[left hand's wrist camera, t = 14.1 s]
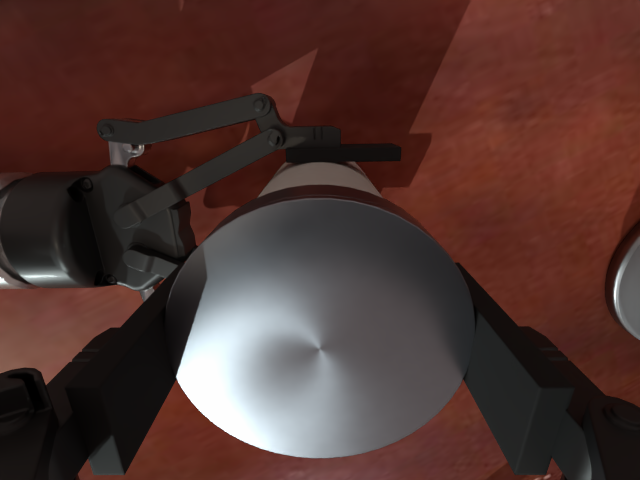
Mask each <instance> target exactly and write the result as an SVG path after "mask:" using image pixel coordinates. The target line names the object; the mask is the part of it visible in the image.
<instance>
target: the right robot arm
mask: <svg viewBox="0 0 640 480" xmlns="http://www.w3.org/2000/svg"><path fill="white" fill-rule="evenodd" d="M251 120H256V122H257V124H258V127H259V129H260V131H261V133H260V134H258V135H256V136H254V137H252V138H251V139H249V140H247V141H245V142H243V143H241V144H239V145H238V146H236V147H234V148H232V149H230V150H228V151H227V152H225V153H223V154H221V155H219V156H217V157H215V158H214V159H212V160H210V161H208V162H206V163H204V164H202V165H201V166H199V167H197V168H195V169H193V170H191V171H189V172H188V173H186V174H184V175H182V176H180V177H178V178H176V179H174V180H172V181H170V182H169V183H167V184H166V183H164V182H162V181H161V180H159V179H158V178H156V177H154V176H153V175H151V174H150V173H148V172H146V171H145V170H143V169H142V168H140V167H138V166H137V165H135V160H136V158H137V157H138V156H142V155H146V154H148V153H149V152H150V150H151V146H152V144H151V143H157V142H163V141H168V140H173V139H177V138H182V137H186V136H190V135H194V134H198V133H202V132H206V131H210V130H214V129H218V128H222V127H227V126H231V125H235V124H239V123H243V122H247V121H251ZM97 132H98V134H99V136H100V137H101V138H102V139H104V140H106V141H109V152H110V164H111V165H109V166H107V167H105V168H104V169H102V170H101V171H80V172H40V173H35V174H32V173H26V172H18V173H0V289H35V288H40V287H43V288H94V287H103V286H110V285H122V286H125V287H128V288H130V289H132V290H135V291H140V294H141V296H142V299H143V302H145V301H146V299H147V298H148V297H149V296H150V295H151V294H152V293H153V292H154V291H155V290H156V289H157V288H158V287H159V286H160V284H159V282H160V281H162V280H163V279H164V278H167V277H168V276H169V275H170V274H171V273H172V272H173V271H174V269H175V268H176V267H177V266H178V265H179V264H180V263H184V262H185V261H187V259H188V258H189V256H190V255H191V254H192V253H193V252H194V251H195V250H196V248H197V247H198V246H197V245H196V242H195V236H194V233H193V230H192V228H191V226H190V216H191V210H190V203H189V202H186V201H185V198H186V197H188V196H190V195H192V194H194V193H196V192H198V191H200V190H201V189H203V188H205V187H207V186H209V185H211V184H213V183H215V182H217V181H219V180H220V179H222V178H224V177H226V176H228V175H230V174H232V173H234V172H236V171H238V170H239V169H241V168H243V167H245V166H247V165H249V164H251V163H253V162H255V161H257V160H259V159H260V158H262V157H264V156H266V155H268V154H270V153H272V152H274V151H276V150H278V149H286V163H308V162H367V161H400V159H401V147H399V146H397V145H394V144H392V143H388V144H341V130H340V129H338V128H336V127H333V126H289V125H286V124H285V123H284V122H283V121H282V120H281V118H280V116H279V113H278V111H277V108H276V104H275V101H274V100H273V99H272V98H271V97H270V96H268V95H265V94H262V93H255V94H251V95H247V96H243V97H239V98H235V99H231V100H227V101H224V102H220V103H216V104H212V105H208V106H204V107H200V108H196V109H192V110H188V111H184V112H180V113H176V114H172V115H168V116H164V117H160V118H156V119H152V120H148V121H145V120H137V119H102V120H101V121H99V123H98V124H97Z"/></svg>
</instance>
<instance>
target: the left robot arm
mask: <svg viewBox="0 0 640 480" xmlns="http://www.w3.org/2000/svg"><path fill="white" fill-rule="evenodd" d="M184 264H185V263H180V264H179V265H178V266H177V267H176V268H175V269H174V271H173V272H172V273H171V274H170V275H169V276H168V277H167V278H166V279H165V280H164V281H163V282H162V283H161V284H160V286H159V287H158V288H157V289H156V290H155V291H154V292H153V293H152V294H151V295H150V296H149V297H148V298H147V299H146V301H145V302H144V303H143V304H142V305H141V306H140V307H139V308H138V309H137V310H136V311H135V312H134V313H133V314H132V316H131V317H130V318H129V319H128V320H127V321H126V322H125V323H124V324H123V325H122V326H121V327H120V328H109V329H108V330H106V331H104V332H103V333H101V334H100V335H98V336H96V337H95V338H93V339H92V340H91V341H90V342H89V343H88V344H87V345H86V346H85V347H84V348H83V349H82V352H79V353H78V354H77V355H76V356H75V357H74V358H73V359H72V362H69V363H68V364H67V365H66V366H65V367H64V368H63V369H62V370H61V371H60V372H59V373H58V374H57V375H56V376H55V377H54V378H53V379H52V380H51V381H50V382H49V383H48V384H47V385H45V382H44V379H43V376H42V374H41V372H40V371H38V370H37V369H35V368H20V369H14V370H9V371H7V372H4V373H1V374H0V480H80V479H79V476H78V472H79V471H80V469H81V468H82V466H83V465H84V463H85V462H86V460H87V459H89V462H90V465H91V468H92V471H93V474H94V475H125V473H126V471H127V470H128V468H129V466H130V464H131V462H132V460H133V458H134V457H135V455H136V453H137V451H138V449H139V447H140V445H141V444H142V442H143V440H144V438H145V436H146V434H147V433H148V431H149V429H150V427H151V425H152V423H153V421H154V420H155V418H156V416H157V414H158V412H159V410H160V408H161V407H162V405H163V403H164V401H165V399H166V397H167V395H168V394H169V392H170V390H171V388H172V386H173V384H174V383H175V381H176V377H175V375H174V373H173V370H172V367H171V363H170V358H169V353H168V348H167V343H166V337H165V331H164V320H165V312H166V305H167V301H168V298H169V294H170V291H171V288H172V286H173V284H174V281H175V279H176V277H177V275H178V273H179V271H180V270H181V268H182V267H183V265H184ZM455 264H456V266H457V267H458V268H459V270H460V272H461V274H462V276H463V278H464V280H465V282H466V284H467V286H468V289H469V292H470V296H471V299H472V302H473V307H474V314H475V322H476V323H475V336H474V341H473V347H472V352H471V357H470V362H469V366H468V369H467V372H466V374H465V376H464V378H463V379H464V381H465V383H466V385H467V387H468V389H469V391H470V392H471V394H472V396H473V398H474V400H475V402H476V404H477V405H478V407H479V409H480V411H481V413H482V415H483V416H484V418H485V420H486V422H487V424H488V426H489V428H490V429H491V431H492V433H493V435H494V437H495V439H496V441H497V442H498V444H499V446H500V448H501V450H502V452H503V454H504V455H505V457H506V459H507V461H508V463H509V465H510V466H511V468H512V470H513V472H514V474H515V475H546V473H547V470H548V467H549V464H550V461H551V458H553V459H554V461H555V462H556V464H557V465H558V467H559V468H560V470H561V471H562V472H563V474H562V476H561V479H560V480H640V408H639V407H638V406H636V405H634V404H632V403H630V402H627V401H624V400H622V399H619V398H615V397H610V396H606V395H605V394H604V393H602V392H601V391H600V390H599V389H598V388H597V387H596V386H595V385H594V384H593V383H592V382H591V381H590V380H589V379H588V378H587V377H586V376H585V375H584V374H583V373H582V372H581V371H580V370H579V369H578V368H577V367H576V366H575V365H574V364H573V363H572V362H571V361H568V358H567V357H566V356H565V355H564V354H563V353H562V352H561V351H558V348H557V347H556V346H555V345H554V344H553V343H552V342H551V341H550V340H549V339H548V338H547V337H546V336H544V335H542V334H541V333H539V332H537V331H536V330H534V329H532V328H531V327H518V326H517V324H516V323H515V322H514V321H513V320H512V319H511V318H510V317H509V316H508V315H507V314H506V313H505V312H504V311H503V309H502V308H501V307H500V306H499V305H498V304H497V303H496V302H495V301H494V300H493V299H492V298H491V297H490V296H489V294H488V293H487V292H486V291H485V290H484V289H483V288H482V287H481V286H480V285H479V284H478V283H477V282H476V281H475V279H474V278H473V277H472V276H471V275H470V274H469V273H468V272H467V271H466V270H465V269H464V268H463V267H462V266H461V264H460V263H455ZM605 298H606V303H607V306H608V309H609V311H610V313H611V315H612V317H613V318H614V320H615V321H616V322H617V323H618V324H619V325H620V326H621V327H622V328H623V329H625V330H626V331H627V332H629V333H630V334H632V335H633V336H634V337H636V338H637V339H639V340H640V222H639V223H638V224H637V225H636V226H635V227H634V228H633V229H632V230H631V232H630V233H629V234H628V235H627V236H626V238H625V239H624V240H623V242H622V243H621V244H620V246H619V248H618V249H617V251H616V253H615V255H614V257H613V259H612V261H611V264H610V266H609V269H608V272H607V276H606V282H605Z"/></svg>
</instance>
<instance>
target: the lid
mask: <svg viewBox="0 0 640 480" xmlns="http://www.w3.org/2000/svg"><path fill="white" fill-rule="evenodd" d="M475 323H476V322H475V314H474V307H473V302H472V299H471V296H470V292H469V289H468V286H467V284H466V282H465V280H464V278H463V276H462V274H461V272H460V270H459V268H458V267H457V266H456V264H455V263H454V261H453V260H452V258H451V257H450V256H449V254H448V253H447V252H446V251H445V250H444V249H443V248H442V246H441V245H440V244H439V243H438V242H437V241H436V240H435V239H434V238H433V237H432V236H431V234H430V233H429V232H428V231H427V230H426V229H425V228H424V227H423V226H422V225H421V224H420V223H419V222H418V221H417V220H416V219H415V218H414V217H412V216H411V215H410V214H408V213H407V212H406V211H405V210H403V209H402V208H400V207H398V206H397V205H395V204H393V203H391V202H390V201H388V200H386V199H384V198H381V197H379V196H377V195H374V194H372V193H369V192H366V191H362V190H358V189H355V188H351V187H345V186H337V185H303V186H295V187H288V188H285V189H281V190H278V191H274V192H270V193H268V194H265V195H263V196H261V197H258V198H256V199H254V200H251V201H250V202H248V203H246V204H245V205H243V206H241V207H240V208H238V209H236V210H235V211H234V212H232V213H231V214H230V215H229V216H228V217H226V218H225V219H224V220H223V221H221V222H220V223H219V225H218V226H217V227H216V228H215V229H214V230H213V231H212V232H211V233H210V234H209V235H208V236H207V238H206V239H205V240H204V241H203V242H202V243H201V244H200V245H199V246H198V247H197V248H196V250H195V251H194V252H193V253H192V254H191V255H190V256H189V258H188V259H187V261H186V262H185V264H184V265H183V267H182V268H181V270H180V271H179V273H178V275H177V277H176V279H175V281H174V284H173V286H172V288H171V291H170V294H169V298H168V301H167V305H166V312H165V320H164V331H165V337H166V343H167V348H168V353H169V358H170V363H171V367H172V370H173V373H174V375H175V377H176V379H177V380H178V382H179V384H180V386H181V388H182V389H183V391H184V392H185V394H186V395H187V396H188V398H189V399H190V401H191V402H192V403H193V404H194V405H195V406H196V407H197V408H198V409H199V410H200V412H201V413H202V414H203V415H205V416H206V417H207V418H208V419H209V420H210V421H212V422H213V423H214V424H215V425H217V426H218V427H220V428H221V429H223V430H224V431H226V432H227V433H229V434H230V435H232V436H234V437H236V438H238V439H240V440H242V441H244V442H246V443H248V444H251V445H253V446H256V447H258V448H261V449H264V450H267V451H271V452H274V453H278V454H283V455H289V456H294V457H305V458H335V457H345V456H351V455H356V454H361V453H366V452H369V451H372V450H376V449H379V448H382V447H384V446H387V445H389V444H392V443H394V442H397V441H398V440H400V439H402V438H404V437H406V436H408V435H410V434H411V433H413V432H414V431H416V430H417V429H419V428H420V427H422V426H423V425H425V424H426V423H427V422H428V421H429V420H431V419H432V418H433V417H434V416H435V415H436V414H438V413H439V411H440V410H441V409H442V408H443V407H444V406H445V405H446V404H447V403H448V402H449V400H450V399H451V398H452V396H453V395H454V393H455V392H456V390H457V389H458V388H459V386H460V384H461V382H462V380H463V378H464V376H465V374H466V372H467V369H468V366H469V362H470V357H471V352H472V347H473V341H474V336H475Z"/></svg>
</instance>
